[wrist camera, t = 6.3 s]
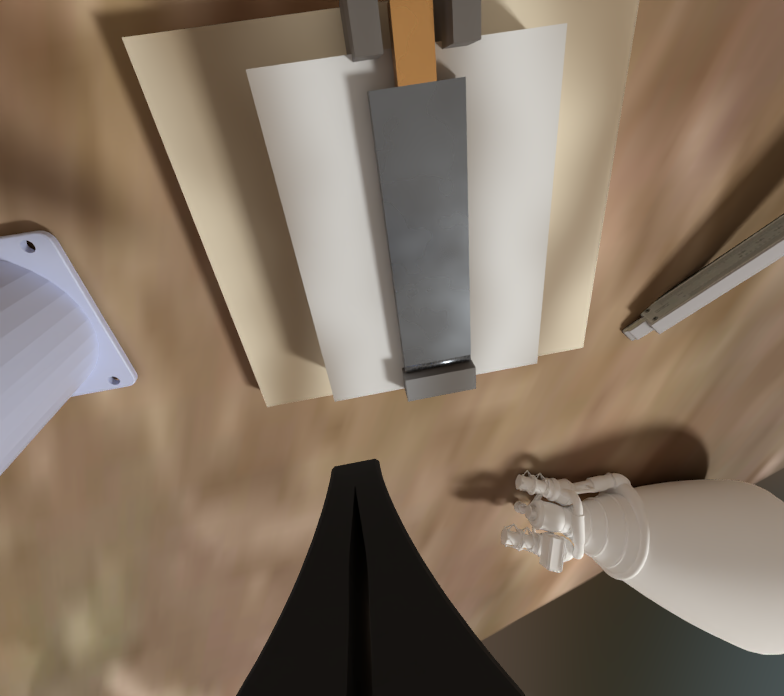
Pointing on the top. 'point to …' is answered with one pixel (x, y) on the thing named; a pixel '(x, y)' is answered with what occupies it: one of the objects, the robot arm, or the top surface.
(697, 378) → the top surface
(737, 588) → the rocket engine
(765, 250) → the caliper
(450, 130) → the grey flat bar
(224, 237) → the base board
